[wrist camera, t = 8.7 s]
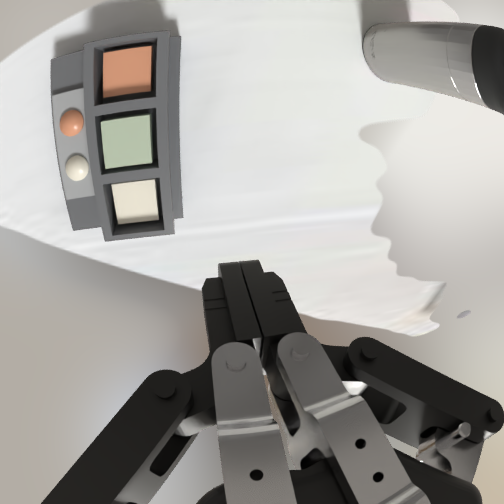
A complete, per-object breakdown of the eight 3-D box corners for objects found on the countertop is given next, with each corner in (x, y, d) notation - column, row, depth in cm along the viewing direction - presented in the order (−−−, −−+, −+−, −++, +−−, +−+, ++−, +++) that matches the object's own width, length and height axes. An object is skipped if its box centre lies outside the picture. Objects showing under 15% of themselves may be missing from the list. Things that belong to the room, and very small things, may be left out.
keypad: (180, 39, 22) (181, 29, 17) (182, 208, 34) (184, 233, 29) (59, 60, 19) (36, 58, 14) (78, 220, 30) (65, 246, 26)
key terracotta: (153, 48, 20) (151, 45, 18) (152, 90, 23) (150, 91, 21) (108, 54, 19) (103, 53, 17) (108, 96, 22) (103, 97, 20)
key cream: (155, 173, 28) (154, 179, 26) (159, 211, 30) (158, 219, 29) (115, 178, 27) (111, 184, 25) (121, 215, 29) (118, 224, 28)
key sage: (151, 112, 23) (149, 115, 21) (153, 157, 25) (151, 162, 24) (105, 119, 22) (100, 121, 20) (109, 163, 24) (105, 168, 23)
